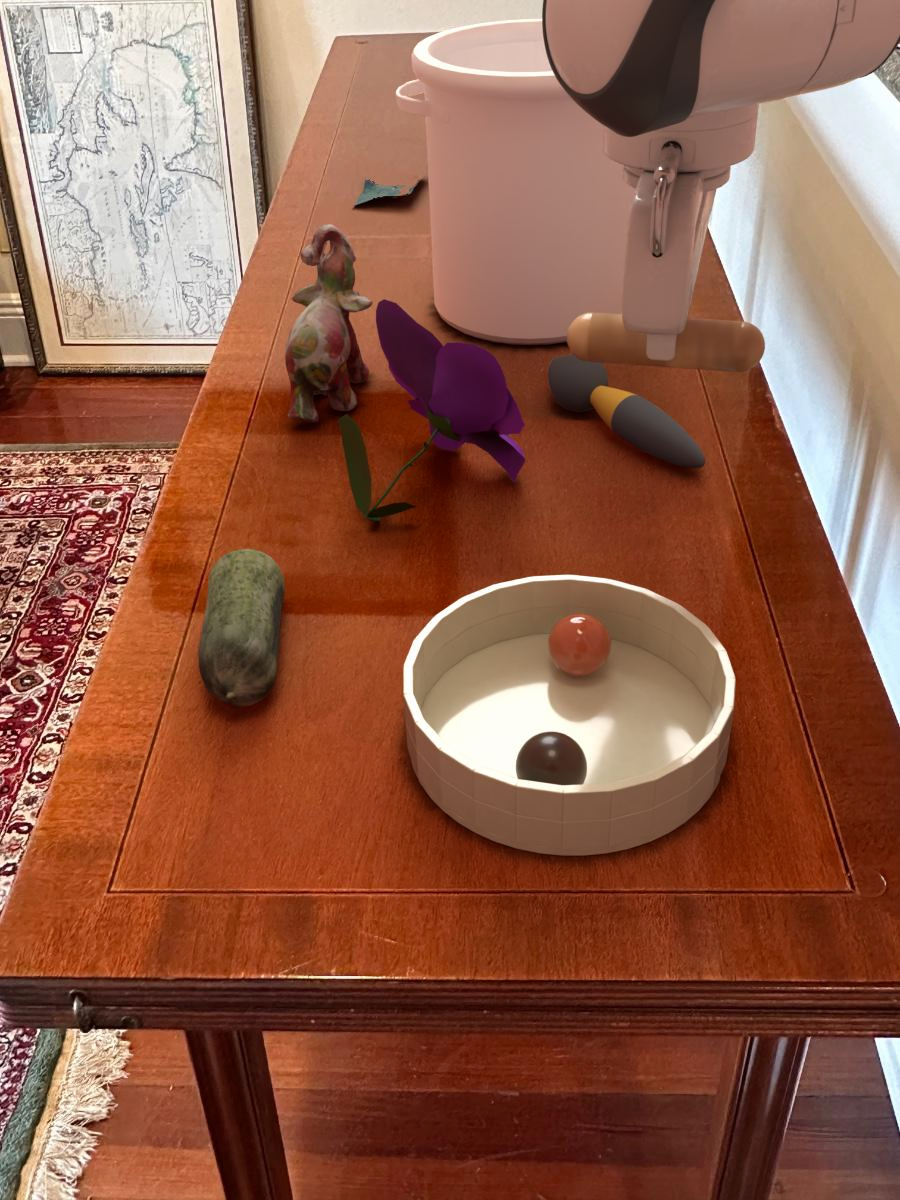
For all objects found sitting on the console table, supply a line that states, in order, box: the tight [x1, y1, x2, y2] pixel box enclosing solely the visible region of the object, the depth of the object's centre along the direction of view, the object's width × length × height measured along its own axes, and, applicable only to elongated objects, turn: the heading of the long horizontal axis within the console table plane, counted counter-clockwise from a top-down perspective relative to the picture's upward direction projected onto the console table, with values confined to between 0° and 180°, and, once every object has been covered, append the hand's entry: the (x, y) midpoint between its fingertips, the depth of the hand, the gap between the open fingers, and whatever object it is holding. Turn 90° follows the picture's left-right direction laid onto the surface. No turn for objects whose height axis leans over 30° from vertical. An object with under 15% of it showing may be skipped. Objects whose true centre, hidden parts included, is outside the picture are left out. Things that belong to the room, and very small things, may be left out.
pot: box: [395, 18, 635, 346], centre depth 115 cm, size 26×22×25 cm
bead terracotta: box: [548, 613, 612, 676], centre depth 75 cm, size 4×4×4 cm
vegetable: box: [197, 548, 286, 708], centre depth 78 cm, size 14×5×5 cm, turn 4°
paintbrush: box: [547, 353, 706, 469], centre depth 101 cm, size 20×5×5 cm, turn 40°
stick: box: [566, 313, 766, 373], centre depth 78 cm, size 13×3×3 cm, turn 76°
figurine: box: [284, 223, 374, 423], centre depth 104 cm, size 8×12×15 cm, turn 146°
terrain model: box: [352, 179, 419, 206], centre depth 152 cm, size 13×8×2 cm, turn 170°
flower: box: [336, 298, 526, 522], centre depth 92 cm, size 15×15×14 cm
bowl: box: [402, 574, 737, 857], centre depth 71 cm, size 19×19×5 cm
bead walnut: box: [516, 731, 587, 785], centre depth 67 cm, size 4×4×4 cm
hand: (664, 340), depth 78 cm, fingers closed on stick, 3 cm apart
